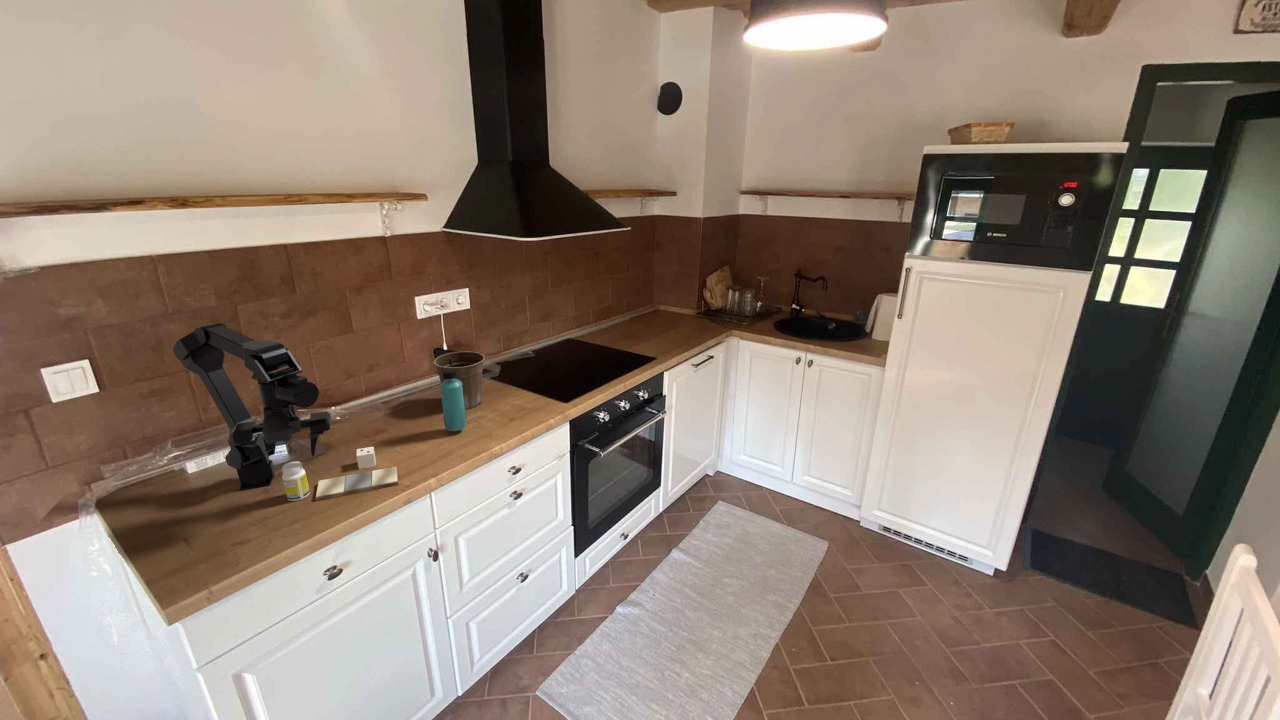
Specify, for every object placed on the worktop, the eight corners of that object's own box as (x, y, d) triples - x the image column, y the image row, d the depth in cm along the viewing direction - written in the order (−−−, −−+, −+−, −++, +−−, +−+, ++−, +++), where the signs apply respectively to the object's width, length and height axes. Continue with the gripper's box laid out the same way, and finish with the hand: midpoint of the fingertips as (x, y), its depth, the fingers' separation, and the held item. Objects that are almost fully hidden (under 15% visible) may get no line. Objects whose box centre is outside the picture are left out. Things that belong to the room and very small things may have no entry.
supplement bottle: (305, 488, 130) (299, 458, 127) (313, 495, 127) (307, 465, 124) (283, 496, 126) (276, 465, 123) (291, 504, 123) (284, 473, 120)
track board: (316, 500, 125) (315, 497, 124) (319, 483, 131) (318, 480, 131) (398, 484, 132) (397, 481, 132) (397, 469, 139) (396, 465, 139)
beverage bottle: (471, 431, 161) (465, 370, 154) (451, 438, 156) (444, 375, 149) (460, 424, 165) (454, 364, 158) (440, 430, 160) (433, 369, 154)
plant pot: (448, 417, 169) (443, 370, 164) (431, 400, 181) (426, 356, 176) (495, 405, 179) (492, 360, 174) (476, 390, 191) (473, 348, 186)
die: (358, 469, 139) (356, 455, 137) (359, 462, 142) (356, 449, 141) (375, 466, 140) (373, 453, 139) (375, 459, 144) (373, 446, 142)
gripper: (217, 420, 107) (234, 485, 112) (322, 406, 115) (333, 468, 120) (230, 399, 117) (245, 461, 122) (326, 388, 124) (336, 446, 130)
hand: (290, 459), depth 123 cm, fingers open, 9 cm apart
